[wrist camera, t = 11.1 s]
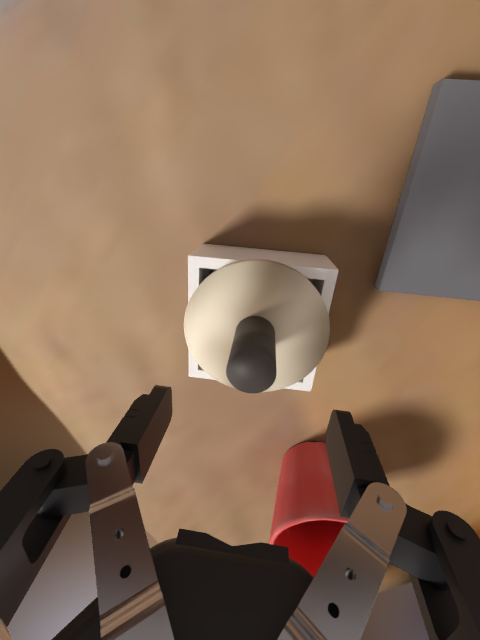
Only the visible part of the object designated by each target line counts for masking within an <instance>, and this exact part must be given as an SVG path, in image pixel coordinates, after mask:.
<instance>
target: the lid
mask: <svg viewBox="0 0 480 640" xmlns="http://www.w3.org/2000/svg"><path fill="white" fill-rule="evenodd" d="M184 333H185V338H186V342H187V345H188V348H189V350H190V352H191V354H192V356H193V358H194V359H195V360H196V362H197V363H198V365H199V366H200V367H201V368H202V369H203V370H204V371H205V372H206V373H207V374H209V375H210V376H211V377H213V378H214V379H216V380H217V381H219V382H221V383H223V384H225V385H227V386H230V387H232V388H235V389H238V390H240V391H242V392H246V393H259V392H268V391H275V390H279V389H283V388H285V387H288V386H291V385H293V384H295V383H297V382H299V381H300V380H302V379H303V378H304V377H306V376H307V375H308V374H309V373H310V372H312V371H313V370H314V368H315V367H316V366H317V365H318V364H319V362H320V361H321V359H322V358H323V356H324V353H325V351H326V349H327V346H328V343H329V337H330V320H329V314H328V311H327V308H326V305H325V303H324V301H323V299H322V297H321V295H320V293H319V292H318V290H317V289H316V287H315V286H314V285H313V284H312V283H311V282H310V281H309V280H308V279H307V278H306V277H305V276H304V275H302V274H301V273H300V272H298V271H297V270H295V269H293V268H291V267H289V266H287V265H285V264H282V263H279V262H275V261H271V260H264V259H248V260H241V261H237V262H233V263H230V264H227V265H225V266H223V267H221V268H219V269H217V270H216V271H214V272H213V273H211V274H210V275H209V276H207V277H206V278H205V279H204V280H203V281H202V283H201V284H200V285H199V286H198V288H197V289H196V290H195V292H194V293H193V295H192V297H191V299H190V300H189V303H188V305H187V308H186V312H185V317H184Z"/></svg>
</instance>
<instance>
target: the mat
mask: <svg viewBox="0 0 480 640" xmlns="http://www.w3.org/2000/svg"><path fill="white" fill-rule="evenodd" d="M374 286H375V287H376V288H377V289H378V290H379V291H387V292H397V293H407V294H417V295H427V296H437V297H447V298H457V299H467V300H477V301H480V81H479V80H461V79H442V80H441V81H439V82H438V83H436V84H435V85H433V89H432V92H431V96H430V99H429V102H428V106H427V109H426V113H425V116H424V119H423V123H422V126H421V129H420V133H419V136H418V140H417V143H416V146H415V150H414V153H413V157H412V160H411V163H410V167H409V170H408V174H407V177H406V180H405V184H404V187H403V191H402V194H401V197H400V201H399V204H398V207H397V211H396V214H395V218H394V221H393V224H392V228H391V231H390V235H389V238H388V241H387V245H386V248H385V252H384V255H383V258H382V262H381V265H380V269H379V272H378V275H377V279H376V282H375V285H374Z"/></svg>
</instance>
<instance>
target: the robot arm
mask: <svg viewBox="0 0 480 640" xmlns="http://www.w3.org/2000/svg"><path fill="white" fill-rule="evenodd" d="M171 417H172V390H171V387H166V386H159V385H156V386H154V388H153V390H152V391H151V393H150V394H149V395H147V394H143V395H141V396H140V397H139V398H137V399H136V400H135V401H134V402H133V404H132V405H131V407H130V408H129V410H128V411H127V413H126V414H125V416H124V417H123V418H122V420H121V421H120V423H119V424H118V426H117V427H116V429H115V430H114V432H113V433H112V435H111V436H110V438H109V439H108V441H107V442H106V443H103V444H100V445H98V446H96V447H95V448H94V449H92V450H91V451H90V452H89V454H87V455H82V456H75V457H68V458H64V455H63V453H62V452H61V451H59V450H56V449H48V450H44V451H41V452H39V453H37V454H35V455H33V456H32V457H30V458H29V459H28V460H27V461H26V462H25V463H24V464H23V465H22V466H21V468H20V469H19V470H18V471H17V472H16V473H15V475H14V476H13V477H12V478H11V479H10V481H9V482H8V483H7V484H6V485H5V486H4V487H3V489H2V490H1V491H0V640H11V634H10V632H9V630H8V628H7V626H8V625H9V623H10V621H11V619H12V618H13V616H14V614H15V612H16V611H17V609H18V607H19V605H20V603H21V602H22V600H23V598H24V596H25V595H26V593H27V591H28V590H29V588H30V586H31V584H32V582H33V581H34V579H35V577H36V575H37V574H38V572H39V570H40V569H41V566H42V565H43V563H44V562H45V560H46V558H47V556H48V554H49V553H50V551H51V549H52V548H53V546H54V544H55V542H56V540H57V539H58V537H59V535H60V534H61V532H62V530H63V528H64V526H65V525H66V523H67V521H68V520H69V518H70V516H71V514H76V513H82V512H87V511H89V517H90V527H91V537H92V545H93V546H92V547H93V556H94V565H95V575H96V585H97V595H98V597H97V598H96V599H94V601H92V602H91V603H90V604H89V605H88V606H87V607H86V608H85V609H84V610H83V611H82V612H81V613H80V614H78V615H77V616H76V617H75V618H74V619H73V620H72V621H71V622H70V623H69V624H68V625H67V626H66V627H64V629H62V630H61V631H60V632H59V633H58V634H57V635H56V636H55V637H54V638H53V639H52V640H360V639H361V636H362V633H363V631H364V628H365V625H366V622H367V620H368V617H369V615H370V612H371V610H372V607H373V604H374V601H375V599H376V596H377V594H378V591H379V588H380V586H381V583H382V581H383V578H384V575H385V573H386V570H387V567H388V565H389V563H391V564H392V565H394V566H396V567H398V568H400V569H402V570H404V571H406V572H408V573H409V575H410V578H411V581H412V584H413V588H414V591H415V594H416V597H417V601H418V604H419V607H420V610H421V614H422V617H423V620H424V623H425V626H426V630H427V633H428V636H429V640H480V539H479V537H478V536H477V534H476V533H475V531H474V530H473V529H472V528H471V526H470V525H469V524H468V523H466V522H465V521H464V520H463V519H462V518H460V517H459V516H457V515H455V514H453V513H451V512H448V511H437V512H435V513H434V515H433V516H430V515H428V514H426V513H423V512H421V511H419V510H417V509H414V508H412V507H410V506H409V505H407V504H405V502H404V500H403V498H402V497H401V496H400V495H399V493H398V492H397V491H395V490H394V489H393V488H391V487H390V486H389V483H388V481H387V478H386V476H385V473H384V471H383V468H382V466H381V463H380V461H379V458H378V455H377V454H376V450H375V448H374V446H373V443H372V440H371V438H370V435H369V433H368V432H367V431H366V430H365V429H364V428H363V426H362V425H360V424H354V421H353V418H352V415H351V413H350V412H348V411H340V410H333V411H332V414H331V417H330V421H329V424H328V428H327V432H326V439H325V442H326V449H327V454H328V459H329V464H330V469H331V474H332V478H333V483H334V488H335V493H336V498H337V503H338V508H339V513H340V517H346V518H349V520H348V522H347V523H345V524H344V526H343V528H342V529H341V531H340V533H339V535H338V536H337V538H336V540H335V542H334V543H333V545H332V547H331V549H330V550H329V552H328V554H327V556H326V557H325V559H324V561H323V563H322V564H321V566H320V568H319V570H318V571H317V573H316V575H315V577H313V576H312V575H311V574H310V573H309V572H308V571H307V570H306V569H305V568H304V567H303V566H302V565H300V564H299V563H298V562H296V561H295V560H293V559H291V558H289V550H288V547H284V546H278V545H272V544H267V543H254V544H247V545H239V546H231V545H228V544H226V543H224V542H222V541H220V540H218V539H216V538H214V537H213V536H211V535H209V534H207V533H202V532H196V531H191V530H185V529H179V532H178V536H177V538H173V539H169V540H166V541H163V542H161V543H159V544H157V545H155V546H153V547H152V548H150V547H149V543H148V539H147V536H146V532H145V528H144V524H143V520H142V516H141V512H140V508H139V504H138V501H137V497H136V493H135V490H134V489H133V486H132V485H133V483H134V482H135V483H141V484H142V483H143V480H144V478H145V476H146V474H147V472H148V470H149V467H150V465H151V463H152V461H153V459H154V456H155V454H156V452H157V450H158V448H159V445H160V443H161V441H162V439H163V437H164V434H165V432H166V430H167V428H168V426H169V423H170V421H171Z"/></svg>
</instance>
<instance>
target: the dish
mask: <svg viewBox="0 0 480 640" xmlns="http://www.w3.org/2000/svg"><path fill="white" fill-rule="evenodd" d="M248 259H264V260H271V261H275V262H279V263H282V264H285V265H287V266H289V267H291V268H293V269H295V270H297V271H298V272H300V273H301V274H302V275H304V276H305V277H306V278H307V279H308V280H309V281H310V282H311V283H312V284H313V285H314V286H315V287H316V289H317V290H318V292H319V293H320V295H321V297H322V299H323V301H324V303H325V305H326V308H327V311H328V314H329V310H330V306H331V301H332V297H333V293H334V288H335V284H336V280H337V275H338V271H339V270H338V269H337V268H336V266H335V265H334V264H333V263H332V262H331V261H330V259H329V258H328V257H327V256H326V255H320V254H310V253H299V252H289V251H278V250H267V249H257V248H246V247H235V246H225V245H214V244H204V243H203V244H202V245H201V246H199V247H198V248H197V249H196V250H194V251H193V252H192V253H191V254H189V255H188V303H189V300H190V299H191V297H192V295H193V293H194V292H195V290H196V289H197V288H198V286H199V285H200V284H201V283H202V281H203V280H204V279H205V278H206V277H207V276H209V275H210V274H211V273H213V272H214V271H216V270H217V269H219V268H221V267H223V266H225V265H227V264H230V263H233V262H237V261H241V260H248ZM315 371H316V367H315V368H314V370H313V371H312V372H310V373H309V374H308V375H307V376H306V377H304V378H303V379H302V380H300V381H299V382H297V383H295V384H293V385H291V386H288V387H285V388H287V389H295V390H303V391H311V388H312V384H313V379H314V375H315ZM189 377H197V378H205V379H213V380H216V379H214V378H213V377H211V376H210V375H209V374H207V373H206V372H205V371H204V370H203V369H202V368H201V367H200V366H199V365H198V363H197V362H196V360H195V359H194V358H193V356H192V354H191V352H190V350H189Z"/></svg>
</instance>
